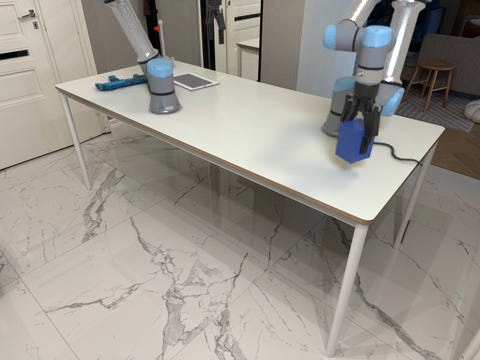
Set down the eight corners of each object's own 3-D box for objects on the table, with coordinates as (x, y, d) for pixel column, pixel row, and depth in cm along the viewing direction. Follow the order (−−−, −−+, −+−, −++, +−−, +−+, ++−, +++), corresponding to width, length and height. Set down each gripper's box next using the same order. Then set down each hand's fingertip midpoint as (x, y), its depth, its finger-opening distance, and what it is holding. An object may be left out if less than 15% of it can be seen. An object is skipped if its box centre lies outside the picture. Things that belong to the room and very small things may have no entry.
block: (354, 148, 122) (360, 118, 116) (370, 157, 117) (377, 126, 110) (334, 154, 119) (340, 123, 112) (350, 163, 113) (356, 131, 107)
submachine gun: (139, 68, 225) (158, 74, 208) (140, 74, 226) (158, 80, 210) (87, 78, 206) (103, 86, 189) (89, 84, 208) (104, 92, 191)
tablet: (163, 78, 216) (163, 77, 215) (189, 72, 227) (189, 71, 226) (191, 90, 195) (191, 90, 195) (219, 83, 206) (219, 83, 206)
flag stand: (172, 63, 247) (168, 18, 231) (176, 67, 237) (171, 20, 221) (154, 64, 243) (148, 19, 227) (158, 69, 233) (151, 21, 217)
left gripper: (197, -6, 176) (200, 38, 187) (218, -2, 157) (219, 47, 169) (210, -6, 179) (212, 37, 190) (232, -2, 160) (232, 45, 172)
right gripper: (335, 74, 110) (325, 138, 122) (385, 93, 95) (368, 163, 107) (352, 72, 113) (341, 134, 125) (403, 89, 98) (385, 158, 110)
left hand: (216, 41), depth 179 cm, fingers open, 13 cm apart
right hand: (353, 148), depth 116 cm, fingers closed on block, 8 cm apart
